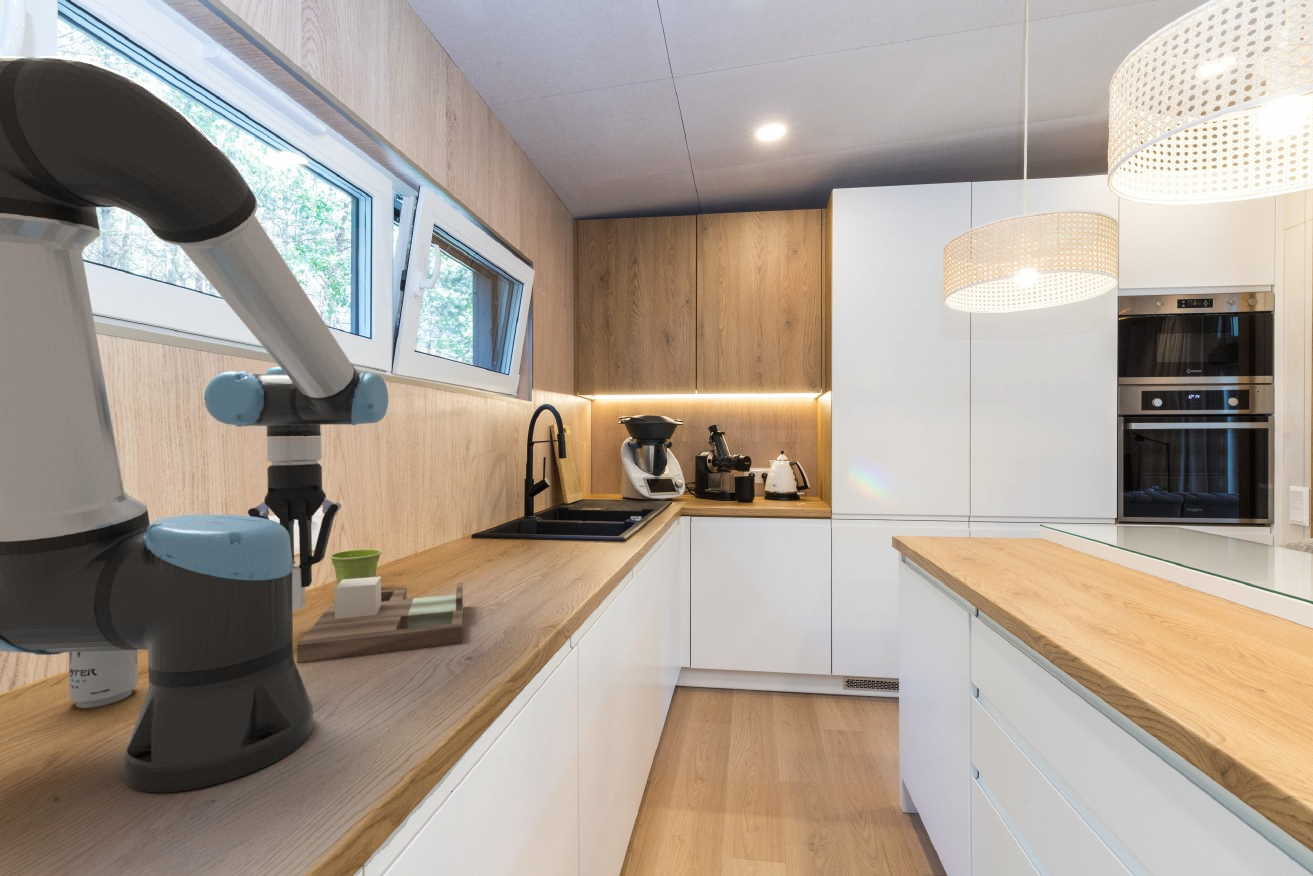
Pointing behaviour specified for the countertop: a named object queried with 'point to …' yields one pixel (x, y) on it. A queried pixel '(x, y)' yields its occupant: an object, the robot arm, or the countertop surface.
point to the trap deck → (386, 627)
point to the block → (357, 597)
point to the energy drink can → (101, 676)
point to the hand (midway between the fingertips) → (297, 607)
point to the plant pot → (355, 563)
